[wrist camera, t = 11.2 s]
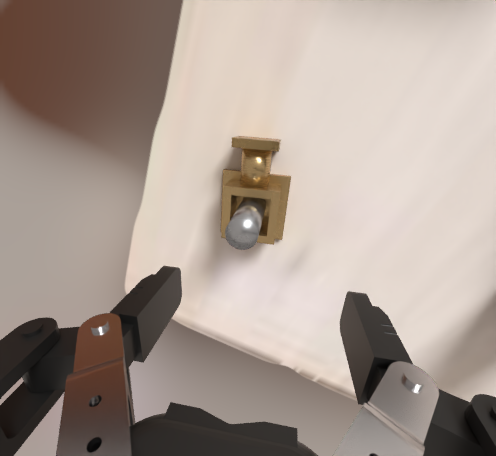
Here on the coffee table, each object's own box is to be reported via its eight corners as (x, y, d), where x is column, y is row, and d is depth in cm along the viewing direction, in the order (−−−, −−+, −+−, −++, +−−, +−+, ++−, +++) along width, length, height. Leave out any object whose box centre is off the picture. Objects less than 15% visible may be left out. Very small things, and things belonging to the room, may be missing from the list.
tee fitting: (295, 140, 31) (297, 143, 26) (282, 237, 36) (281, 254, 32) (225, 134, 32) (215, 136, 27) (222, 229, 37) (212, 244, 33)
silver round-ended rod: (266, 195, 34) (259, 220, 24) (264, 218, 35) (256, 251, 26) (242, 192, 34) (225, 216, 25) (240, 215, 35) (224, 247, 26)
